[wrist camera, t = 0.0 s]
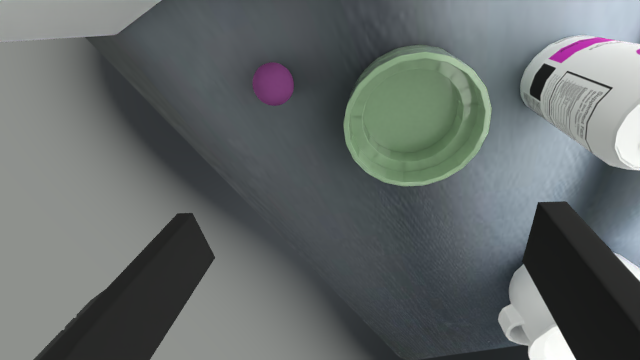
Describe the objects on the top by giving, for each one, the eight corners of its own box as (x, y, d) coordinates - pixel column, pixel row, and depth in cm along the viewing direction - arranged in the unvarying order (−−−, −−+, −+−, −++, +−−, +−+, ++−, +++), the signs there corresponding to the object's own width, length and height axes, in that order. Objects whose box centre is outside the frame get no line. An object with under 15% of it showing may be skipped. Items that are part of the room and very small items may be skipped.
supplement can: (567, 17, 28) (717, 30, 16) (626, 62, 29) (809, 109, 17) (500, 88, 33) (575, 141, 20) (553, 125, 34) (656, 198, 21)
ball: (256, 62, 36) (240, 70, 32) (293, 56, 35) (281, 63, 31) (266, 101, 38) (253, 113, 34) (301, 96, 37) (292, 108, 33)
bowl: (341, 56, 34) (334, 66, 29) (481, 33, 30) (501, 39, 25) (355, 166, 41) (352, 189, 36) (468, 158, 38) (481, 182, 33)
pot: (510, 320, 53) (541, 395, 43) (466, 265, 48) (490, 336, 38) (663, 284, 43) (751, 372, 33) (629, 209, 38) (721, 286, 27)
